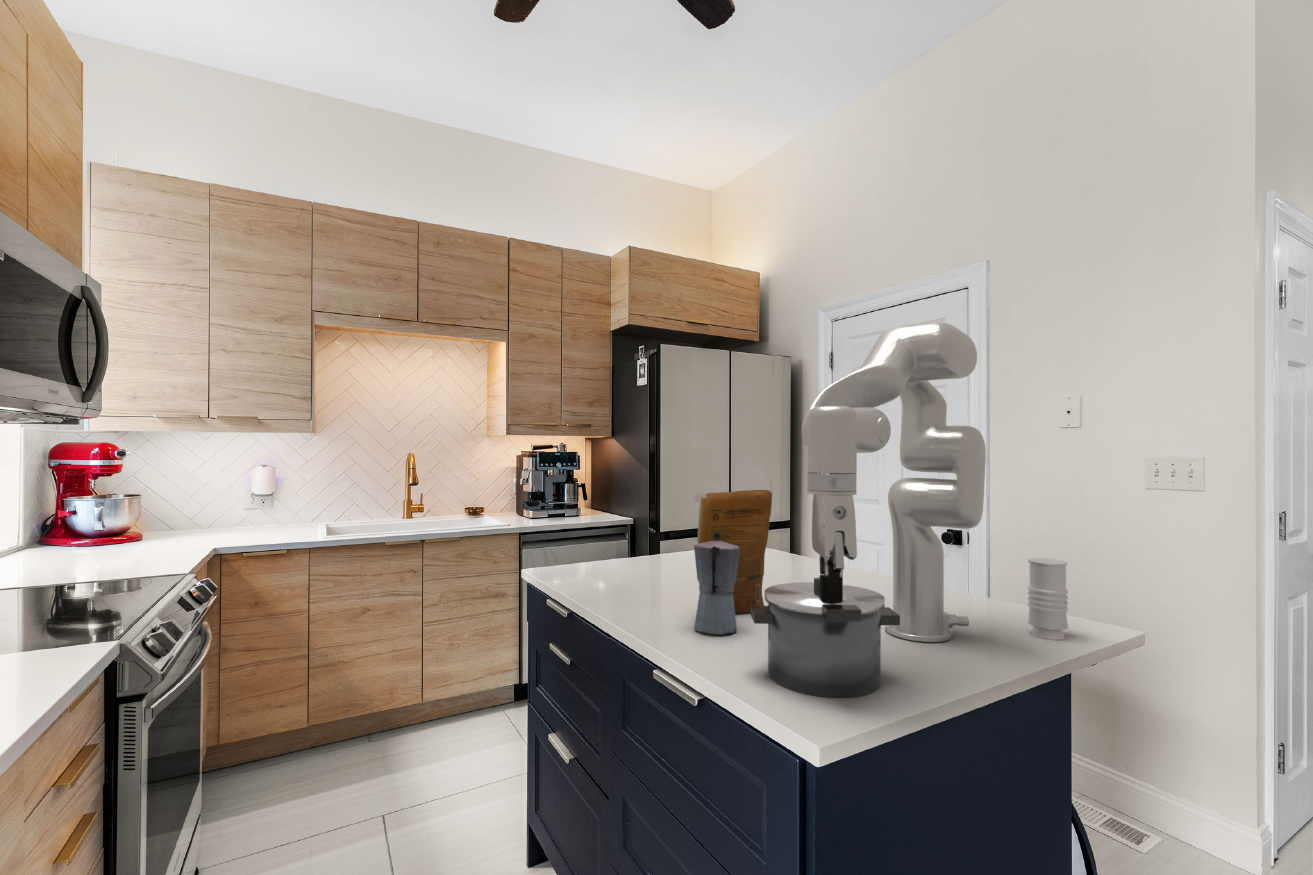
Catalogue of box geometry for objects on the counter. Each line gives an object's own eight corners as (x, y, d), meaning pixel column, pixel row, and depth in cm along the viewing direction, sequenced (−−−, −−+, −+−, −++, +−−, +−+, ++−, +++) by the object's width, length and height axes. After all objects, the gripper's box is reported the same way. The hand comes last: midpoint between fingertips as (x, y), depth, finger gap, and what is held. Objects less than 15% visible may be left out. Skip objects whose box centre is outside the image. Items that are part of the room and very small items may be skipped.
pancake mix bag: (778, 613, 140) (779, 490, 141) (700, 619, 135) (701, 491, 135) (765, 605, 147) (765, 488, 147) (690, 611, 141) (690, 489, 141)
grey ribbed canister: (1068, 634, 126) (1068, 560, 126) (1067, 642, 120) (1066, 565, 120) (1029, 628, 130) (1029, 556, 130) (1026, 636, 124) (1026, 561, 124)
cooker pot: (873, 654, 113) (873, 588, 113) (915, 699, 93) (915, 619, 93) (744, 652, 113) (745, 587, 114) (759, 696, 94) (760, 617, 94)
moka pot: (738, 620, 134) (738, 528, 134) (741, 643, 119) (741, 539, 119) (694, 619, 135) (695, 528, 135) (691, 641, 120) (692, 538, 120)
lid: (757, 588, 112) (757, 568, 112) (863, 589, 112) (863, 569, 112) (777, 619, 90) (777, 594, 90) (910, 621, 90) (910, 596, 90)
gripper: (870, 487, 89) (870, 614, 89) (842, 482, 104) (842, 591, 104) (818, 487, 90) (817, 613, 89) (798, 481, 105) (797, 590, 104)
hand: (830, 601), depth 97 cm, fingers closed
